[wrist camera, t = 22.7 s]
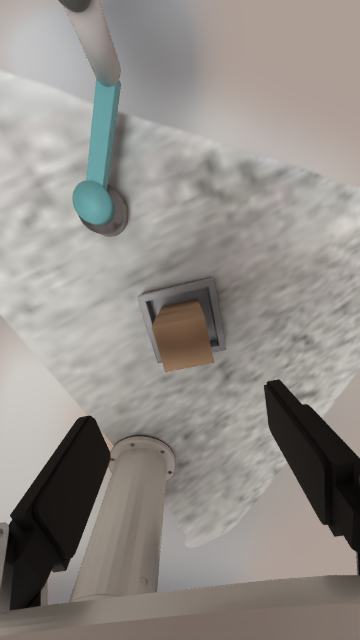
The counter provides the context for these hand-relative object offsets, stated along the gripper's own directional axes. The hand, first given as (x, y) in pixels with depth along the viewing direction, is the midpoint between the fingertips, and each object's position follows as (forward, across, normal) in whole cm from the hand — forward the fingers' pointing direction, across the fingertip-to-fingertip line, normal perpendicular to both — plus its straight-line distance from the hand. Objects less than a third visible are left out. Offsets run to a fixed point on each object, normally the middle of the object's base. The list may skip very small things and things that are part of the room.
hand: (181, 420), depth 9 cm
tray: (+16, -1, -1) cm, 17 cm away
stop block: (+16, 0, -1) cm, 16 cm away
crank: (+13, +3, -20) cm, 24 cm away
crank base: (+16, +5, -16) cm, 23 cm away
